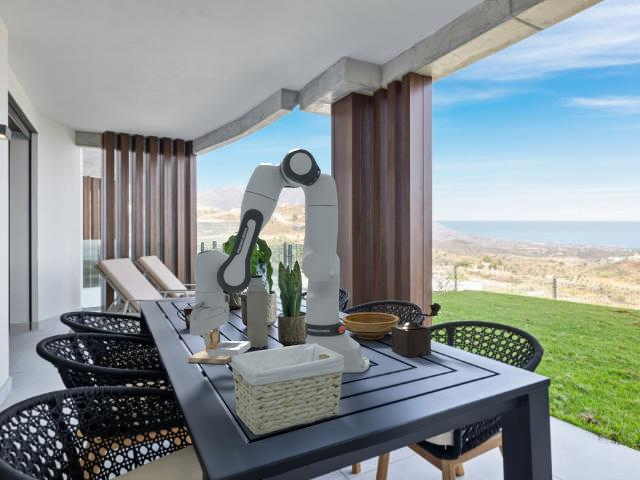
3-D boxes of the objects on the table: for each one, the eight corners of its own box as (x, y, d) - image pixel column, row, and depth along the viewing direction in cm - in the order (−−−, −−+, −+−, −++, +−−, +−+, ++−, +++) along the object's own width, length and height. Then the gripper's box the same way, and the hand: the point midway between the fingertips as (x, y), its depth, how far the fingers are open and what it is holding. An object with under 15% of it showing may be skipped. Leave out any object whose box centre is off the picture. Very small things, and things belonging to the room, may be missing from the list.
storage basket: (315, 394, 113) (314, 340, 113) (348, 416, 99) (347, 355, 98) (229, 414, 101) (228, 354, 101) (253, 443, 87) (251, 373, 87)
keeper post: (242, 352, 155) (241, 325, 155) (225, 363, 141) (225, 334, 141) (207, 350, 158) (207, 324, 158) (188, 361, 144) (187, 333, 144)
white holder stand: (250, 347, 135) (249, 329, 135) (238, 356, 125) (237, 336, 125) (215, 347, 138) (214, 329, 138) (200, 355, 128) (199, 336, 128)
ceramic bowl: (326, 334, 181) (326, 316, 181) (367, 326, 196) (366, 309, 195) (375, 348, 157) (374, 327, 157) (416, 338, 172) (416, 318, 172)
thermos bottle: (265, 341, 170) (263, 273, 170) (270, 346, 163) (268, 275, 163) (245, 343, 167) (244, 274, 167) (250, 348, 160) (248, 276, 160)
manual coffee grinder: (410, 358, 143) (409, 307, 143) (390, 351, 153) (390, 302, 153) (444, 352, 150) (443, 303, 150) (423, 345, 160) (422, 299, 160)
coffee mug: (206, 326, 200) (206, 306, 200) (192, 330, 193) (191, 309, 193) (190, 324, 207) (189, 304, 207) (175, 328, 199) (175, 307, 199)
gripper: (202, 305, 122) (204, 352, 122) (231, 295, 142) (233, 335, 142) (183, 305, 123) (185, 352, 123) (214, 295, 143) (216, 335, 143)
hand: (211, 343), depth 132 cm, fingers closed on white holder stand, 3 cm apart
